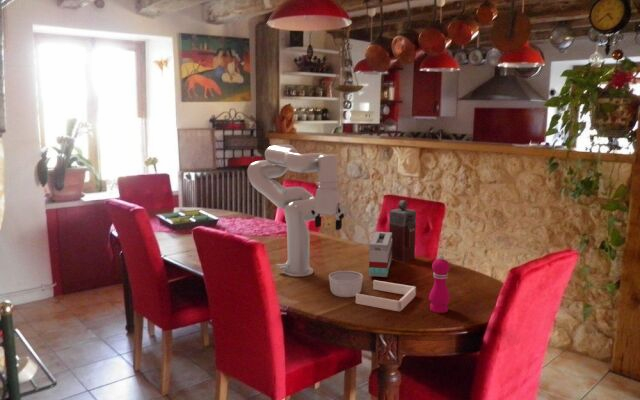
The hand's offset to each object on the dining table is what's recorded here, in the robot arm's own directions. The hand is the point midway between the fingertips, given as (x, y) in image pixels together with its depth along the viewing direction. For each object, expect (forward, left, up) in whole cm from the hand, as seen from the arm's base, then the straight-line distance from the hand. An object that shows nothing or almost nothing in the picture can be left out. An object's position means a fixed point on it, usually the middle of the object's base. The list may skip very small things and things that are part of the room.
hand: (328, 228), depth 209 cm
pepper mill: (+34, -35, -23) cm, 54 cm away
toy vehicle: (+27, +15, -23) cm, 39 cm away
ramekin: (+5, -12, -23) cm, 27 cm away
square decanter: (+41, +28, -23) cm, 55 cm away
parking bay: (+18, -22, -23) cm, 36 cm away
